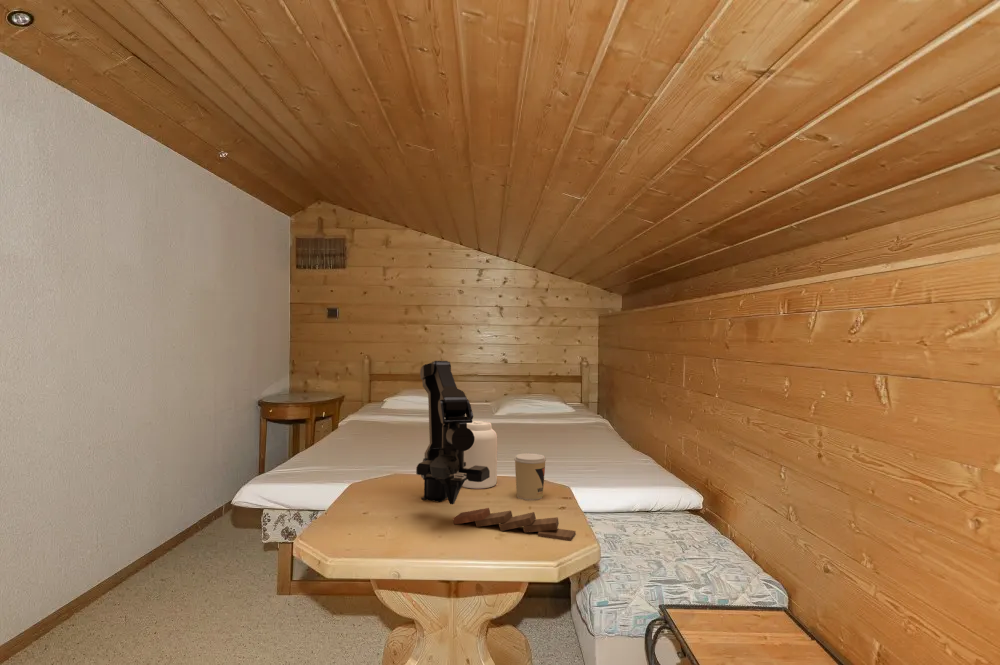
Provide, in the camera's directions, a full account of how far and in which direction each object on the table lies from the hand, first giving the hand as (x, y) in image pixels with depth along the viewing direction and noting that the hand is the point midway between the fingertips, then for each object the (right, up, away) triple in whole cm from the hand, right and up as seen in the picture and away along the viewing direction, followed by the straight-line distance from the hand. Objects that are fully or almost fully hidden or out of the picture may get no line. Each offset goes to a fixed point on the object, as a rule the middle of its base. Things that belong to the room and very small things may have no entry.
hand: (452, 504), depth 147 cm
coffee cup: (+21, -5, +23) cm, 31 cm away
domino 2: (+7, -3, -3) cm, 9 cm away
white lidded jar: (+5, -5, +36) cm, 36 cm away
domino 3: (+13, -3, -6) cm, 15 cm away
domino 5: (+22, -4, -9) cm, 24 cm away
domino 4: (+19, -3, -7) cm, 20 cm away
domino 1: (+2, -3, -1) cm, 4 cm away
